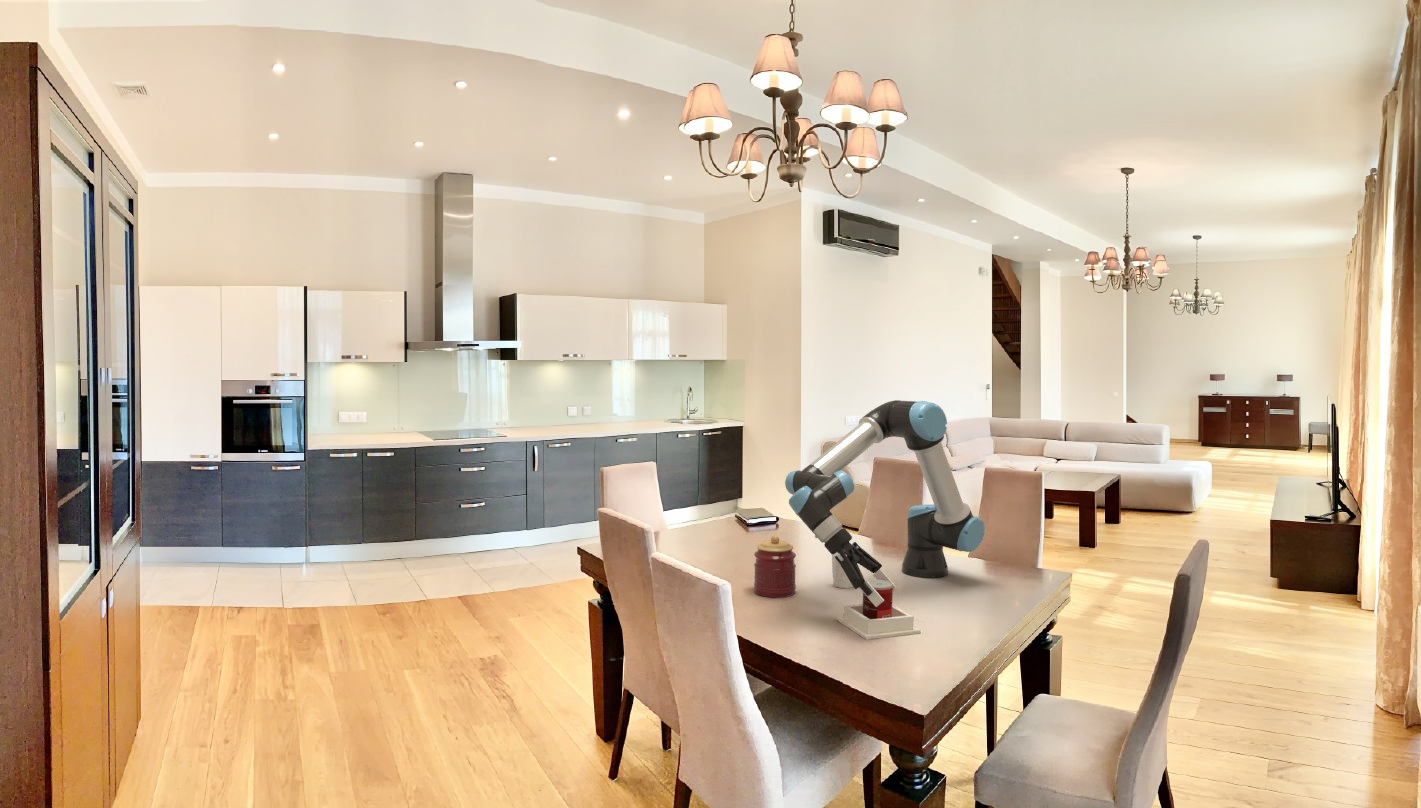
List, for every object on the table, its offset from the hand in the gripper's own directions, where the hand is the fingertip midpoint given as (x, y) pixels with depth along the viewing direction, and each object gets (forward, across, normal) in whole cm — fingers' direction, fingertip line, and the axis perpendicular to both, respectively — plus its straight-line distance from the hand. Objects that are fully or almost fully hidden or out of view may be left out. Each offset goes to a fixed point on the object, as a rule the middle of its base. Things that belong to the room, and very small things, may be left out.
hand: (886, 596), depth 203 cm
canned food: (+4, 0, -7) cm, 8 cm away
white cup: (-10, -34, -22) cm, 41 cm away
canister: (-22, -17, -34) cm, 43 cm away
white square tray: (+4, 0, -8) cm, 9 cm away
